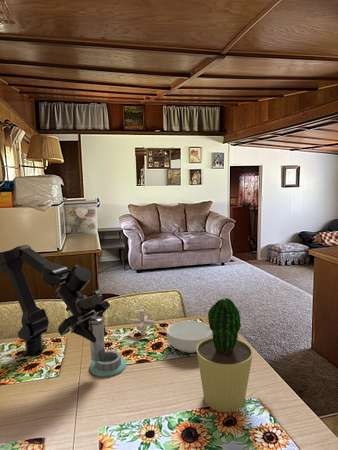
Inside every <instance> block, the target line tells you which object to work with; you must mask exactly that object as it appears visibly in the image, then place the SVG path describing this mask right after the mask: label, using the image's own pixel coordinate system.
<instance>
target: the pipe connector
mask: <svg viewBox="0 0 338 450" xmlns="http://www.w3.org/2000/svg"><path fill="white" fill-rule="evenodd" d="M148 318H149V317H148V315H145V309H140V310H139V319H137V318H136V319H134V318H130V320H129V324H131V325H137V326H136V329H137V330H138V331H140V335H141V336H144V335H146V325H147V326H155V324H156V321H155V320H151V319H148Z"/></svg>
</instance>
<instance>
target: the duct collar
mask: <svg viewBox="0 0 338 450" xmlns="http://www.w3.org/2000/svg"><path fill="white" fill-rule="evenodd" d="M126 368H127V360H126V358H124V357H123V356H122V354H121V353H120V352H118V351H117V350H105V359H104V360H102V361H99V362H95V361H92V360H91V363H90V364H89V371H90V373H91V374H92V375H93V376H97V377H102V378H109V377H113V376H117V375H119V374H120V373H122V372H124V371H125V370H126Z"/></svg>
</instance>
